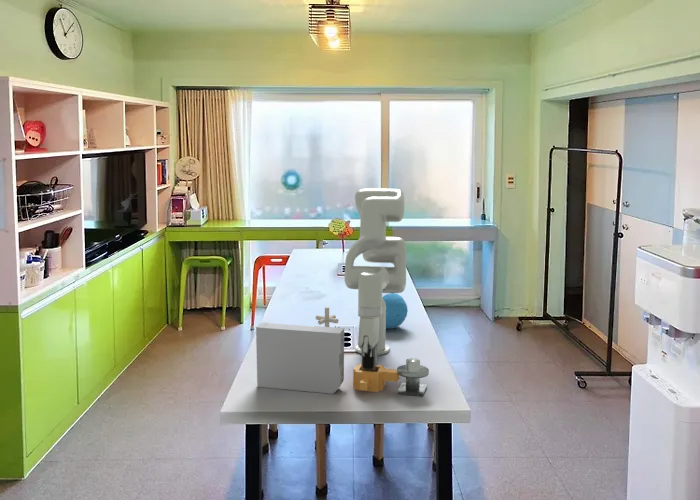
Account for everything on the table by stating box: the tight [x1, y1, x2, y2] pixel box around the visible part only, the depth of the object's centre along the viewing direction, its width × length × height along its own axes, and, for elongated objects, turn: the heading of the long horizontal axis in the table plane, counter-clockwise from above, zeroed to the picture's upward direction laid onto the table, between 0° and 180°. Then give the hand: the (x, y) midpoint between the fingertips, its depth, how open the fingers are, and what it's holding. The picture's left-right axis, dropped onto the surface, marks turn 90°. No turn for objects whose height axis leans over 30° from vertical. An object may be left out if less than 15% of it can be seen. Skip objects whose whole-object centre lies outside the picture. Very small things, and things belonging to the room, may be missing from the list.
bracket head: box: [352, 363, 400, 393], centre depth 219 cm, size 12×14×6 cm
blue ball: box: [382, 293, 409, 330], centre depth 285 cm, size 16×19×15 cm
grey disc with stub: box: [396, 357, 430, 398], centre depth 218 cm, size 10×10×10 cm
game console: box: [255, 322, 345, 395], centre depth 220 cm, size 6×27×20 cm, turn 77°
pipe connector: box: [315, 306, 339, 327], centre depth 280 cm, size 10×10×10 cm
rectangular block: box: [360, 344, 378, 372], centre depth 221 cm, size 3×4×10 cm
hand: (369, 366), depth 221 cm, fingers closed on rectangular block, 2 cm apart
